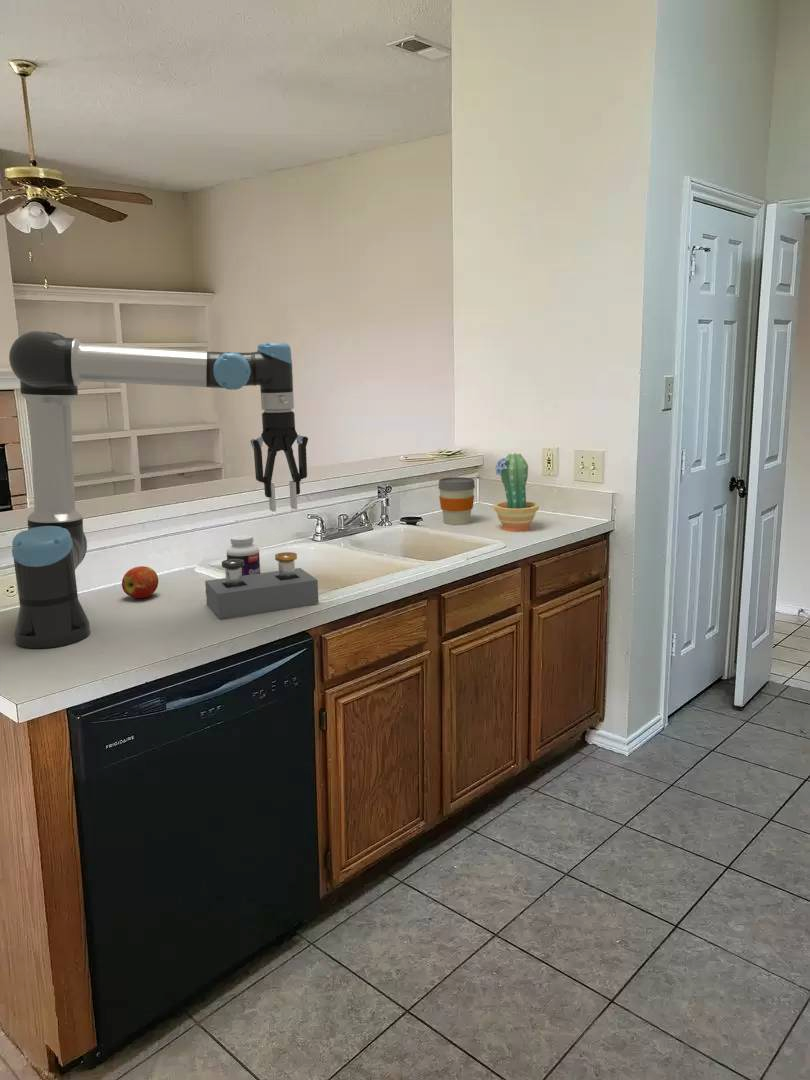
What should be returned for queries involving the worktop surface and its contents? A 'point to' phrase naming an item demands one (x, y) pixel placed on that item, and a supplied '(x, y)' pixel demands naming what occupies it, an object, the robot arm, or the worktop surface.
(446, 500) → the reusable coffee cup
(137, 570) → the apple
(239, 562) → the knob left
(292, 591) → the grey vial holder
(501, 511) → the potted cactus
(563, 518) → the worktop surface
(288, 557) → the orange capped vial
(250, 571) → the pill bottle
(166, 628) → the worktop surface
